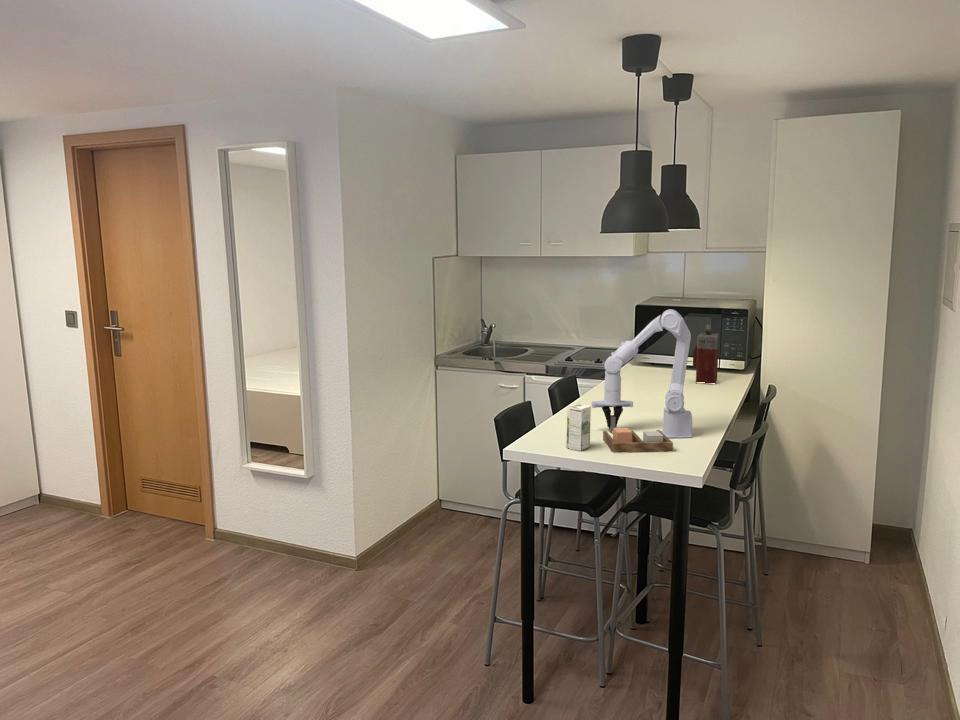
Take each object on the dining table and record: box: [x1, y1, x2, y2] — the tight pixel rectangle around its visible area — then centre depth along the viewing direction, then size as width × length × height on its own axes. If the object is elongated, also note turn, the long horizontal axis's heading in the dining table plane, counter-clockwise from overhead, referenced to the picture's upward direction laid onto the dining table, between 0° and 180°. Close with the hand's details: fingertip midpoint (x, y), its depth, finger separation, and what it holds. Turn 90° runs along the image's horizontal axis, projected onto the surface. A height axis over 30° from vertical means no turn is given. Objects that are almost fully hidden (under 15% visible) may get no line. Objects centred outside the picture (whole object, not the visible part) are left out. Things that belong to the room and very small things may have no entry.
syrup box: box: [566, 403, 592, 452], centre depth 241 cm, size 6×6×14 cm
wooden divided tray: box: [602, 429, 674, 453], centre depth 245 cm, size 20×16×3 cm
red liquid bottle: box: [692, 324, 720, 384], centre depth 351 cm, size 9×11×28 cm
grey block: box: [642, 430, 663, 442], centre depth 242 cm, size 5×6×5 cm
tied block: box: [608, 414, 632, 443], centre depth 253 cm, size 5×20×6 cm, turn 2°
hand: (611, 426), depth 262 cm, fingers closed on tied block
